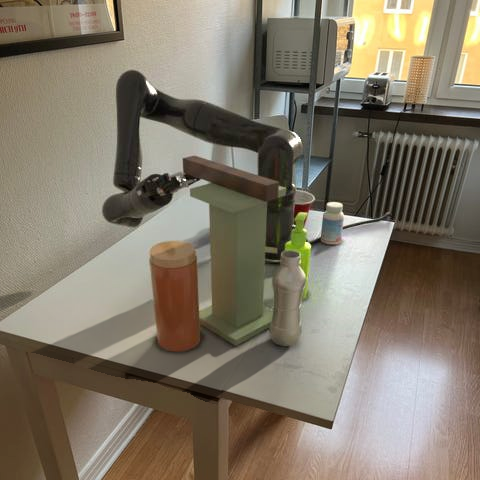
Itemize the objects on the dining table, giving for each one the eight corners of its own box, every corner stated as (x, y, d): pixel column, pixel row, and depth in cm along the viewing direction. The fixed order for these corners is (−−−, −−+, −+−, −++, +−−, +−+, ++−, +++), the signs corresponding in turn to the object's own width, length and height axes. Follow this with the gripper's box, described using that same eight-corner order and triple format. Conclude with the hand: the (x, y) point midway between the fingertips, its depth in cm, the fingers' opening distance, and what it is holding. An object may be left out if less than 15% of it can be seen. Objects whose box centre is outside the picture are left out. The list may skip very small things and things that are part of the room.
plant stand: (193, 319, 110) (186, 187, 94) (238, 297, 118) (239, 173, 102) (235, 346, 102) (236, 206, 85) (281, 321, 110) (290, 189, 93)
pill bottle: (340, 246, 144) (345, 209, 138) (319, 244, 145) (323, 207, 139) (341, 237, 149) (345, 202, 143) (321, 236, 150) (324, 200, 144)
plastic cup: (302, 242, 145) (305, 203, 139) (270, 234, 150) (271, 196, 144) (317, 230, 153) (321, 193, 147) (286, 223, 158) (288, 186, 151)
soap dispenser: (309, 289, 122) (316, 212, 111) (303, 302, 116) (310, 223, 105) (286, 285, 123) (291, 209, 113) (279, 298, 118) (284, 219, 107)
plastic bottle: (266, 332, 106) (270, 247, 95) (297, 331, 106) (305, 246, 95) (270, 350, 100) (275, 262, 89) (303, 349, 101) (311, 261, 90)
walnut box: (183, 172, 102) (182, 158, 100) (195, 169, 104) (194, 155, 102) (265, 202, 87) (266, 185, 85) (278, 198, 89) (279, 181, 87)
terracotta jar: (194, 324, 108) (190, 237, 97) (205, 347, 101) (201, 256, 90) (154, 331, 106) (145, 243, 95) (162, 355, 99) (152, 263, 88)
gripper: (118, 185, 112) (150, 162, 99) (169, 173, 120) (204, 150, 108) (131, 217, 114) (164, 198, 101) (180, 203, 122) (216, 183, 109)
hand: (185, 173), depth 104 cm, fingers open, 8 cm apart
